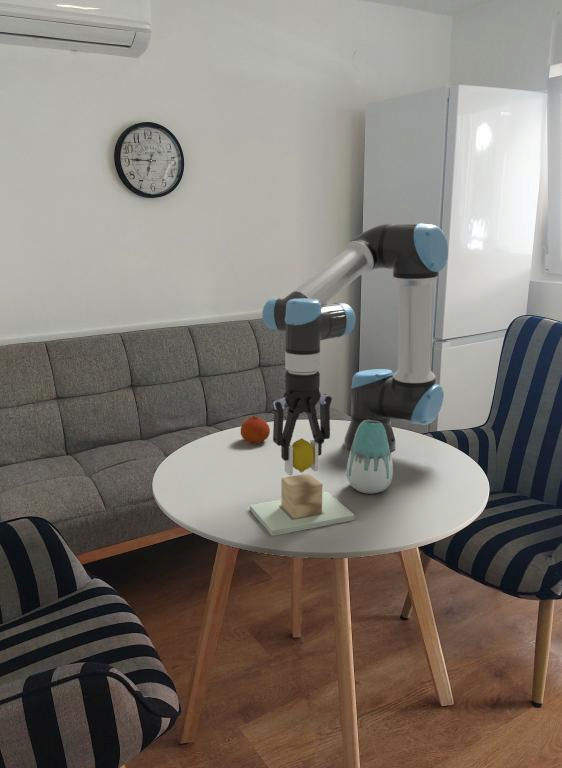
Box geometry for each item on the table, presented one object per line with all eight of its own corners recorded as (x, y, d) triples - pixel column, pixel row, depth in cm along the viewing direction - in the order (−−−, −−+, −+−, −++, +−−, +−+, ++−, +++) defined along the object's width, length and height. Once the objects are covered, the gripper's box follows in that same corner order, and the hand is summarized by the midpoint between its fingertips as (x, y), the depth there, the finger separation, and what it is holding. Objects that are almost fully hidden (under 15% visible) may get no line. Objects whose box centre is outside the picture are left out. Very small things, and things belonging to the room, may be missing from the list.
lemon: (288, 468, 148) (288, 435, 146) (312, 467, 148) (312, 434, 146) (290, 477, 143) (290, 443, 141) (315, 476, 143) (315, 442, 141)
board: (326, 496, 158) (326, 491, 158) (354, 519, 146) (354, 514, 145) (249, 509, 151) (249, 504, 150) (272, 536, 138) (272, 530, 138)
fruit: (262, 448, 191) (262, 422, 189) (235, 444, 195) (235, 418, 193) (275, 439, 199) (275, 414, 197) (249, 435, 202) (249, 411, 200)
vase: (365, 476, 170) (367, 411, 166) (401, 488, 162) (405, 420, 158) (336, 488, 163) (338, 420, 158) (373, 502, 155) (376, 431, 150)
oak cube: (308, 501, 152) (309, 473, 151) (321, 513, 146) (322, 484, 144) (281, 506, 150) (281, 477, 148) (293, 518, 143) (293, 489, 142)
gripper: (332, 363, 146) (330, 459, 152) (256, 370, 140) (257, 471, 145) (348, 370, 140) (345, 470, 145) (269, 378, 133) (269, 483, 139)
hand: (301, 470), depth 145 cm, fingers closed on lemon, 5 cm apart
